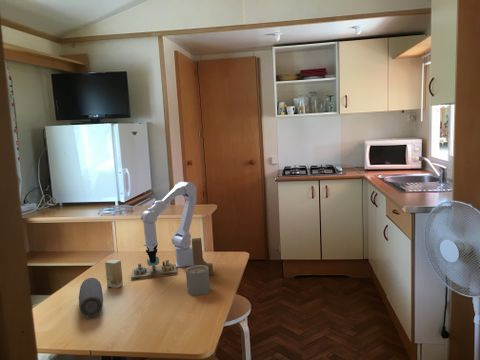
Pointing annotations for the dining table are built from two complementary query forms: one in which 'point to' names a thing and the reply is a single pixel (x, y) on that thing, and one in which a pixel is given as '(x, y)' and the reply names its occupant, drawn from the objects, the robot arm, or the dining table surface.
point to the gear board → (154, 271)
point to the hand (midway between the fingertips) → (153, 260)
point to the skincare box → (114, 273)
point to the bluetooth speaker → (90, 297)
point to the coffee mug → (198, 280)
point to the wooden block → (200, 255)
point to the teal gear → (153, 263)
